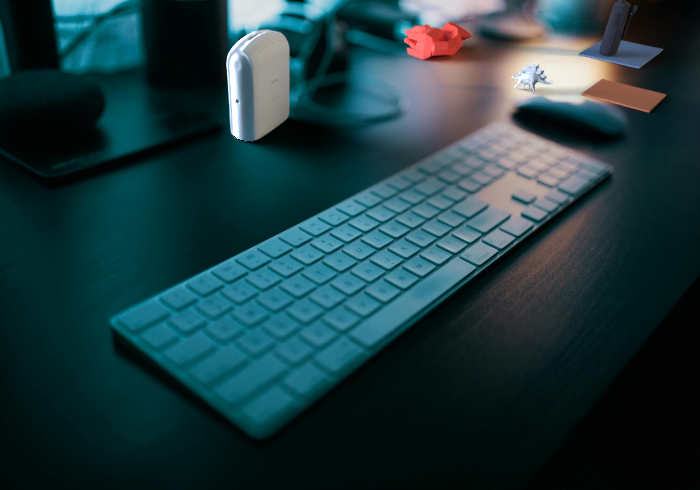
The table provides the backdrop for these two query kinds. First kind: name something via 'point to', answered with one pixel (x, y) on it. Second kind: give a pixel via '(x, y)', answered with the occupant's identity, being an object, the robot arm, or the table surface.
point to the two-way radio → (616, 27)
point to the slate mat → (625, 54)
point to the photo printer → (258, 84)
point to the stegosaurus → (531, 77)
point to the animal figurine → (435, 40)
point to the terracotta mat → (624, 95)
